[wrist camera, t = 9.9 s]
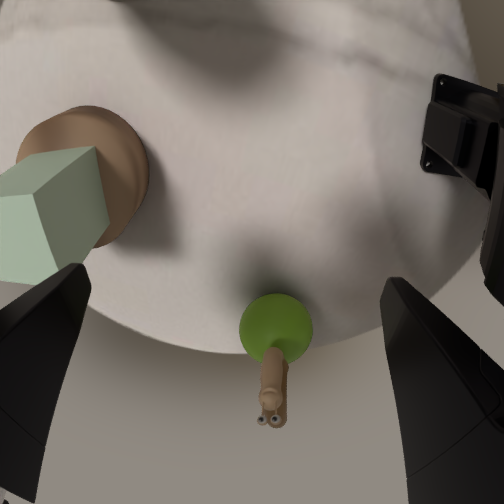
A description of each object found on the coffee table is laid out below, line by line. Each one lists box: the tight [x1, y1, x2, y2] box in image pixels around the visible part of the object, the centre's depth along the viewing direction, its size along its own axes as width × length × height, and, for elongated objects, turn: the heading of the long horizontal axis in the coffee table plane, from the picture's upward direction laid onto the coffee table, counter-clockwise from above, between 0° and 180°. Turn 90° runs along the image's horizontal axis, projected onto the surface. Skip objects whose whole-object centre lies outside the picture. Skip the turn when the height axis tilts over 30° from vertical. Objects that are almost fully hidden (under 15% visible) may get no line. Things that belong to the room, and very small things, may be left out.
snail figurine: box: [239, 293, 313, 428], centre depth 21 cm, size 5×6×12 cm
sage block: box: [0, 146, 110, 285], centre depth 15 cm, size 5×5×6 cm
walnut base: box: [16, 106, 149, 249], centre depth 18 cm, size 9×9×3 cm
